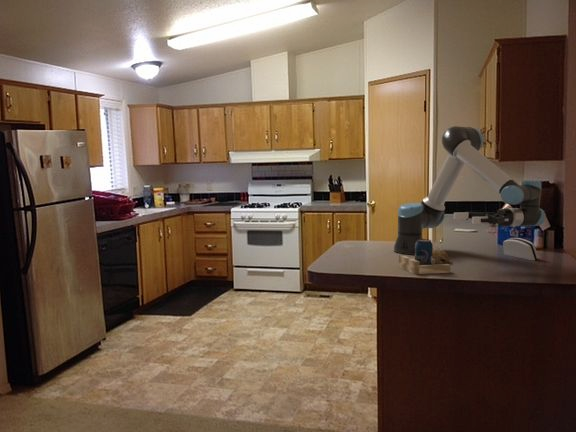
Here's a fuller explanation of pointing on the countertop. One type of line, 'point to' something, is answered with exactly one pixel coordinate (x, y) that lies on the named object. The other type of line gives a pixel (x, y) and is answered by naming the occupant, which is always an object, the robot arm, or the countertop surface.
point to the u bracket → (421, 266)
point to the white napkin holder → (520, 248)
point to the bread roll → (439, 255)
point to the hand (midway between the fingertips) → (463, 217)
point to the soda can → (423, 251)
